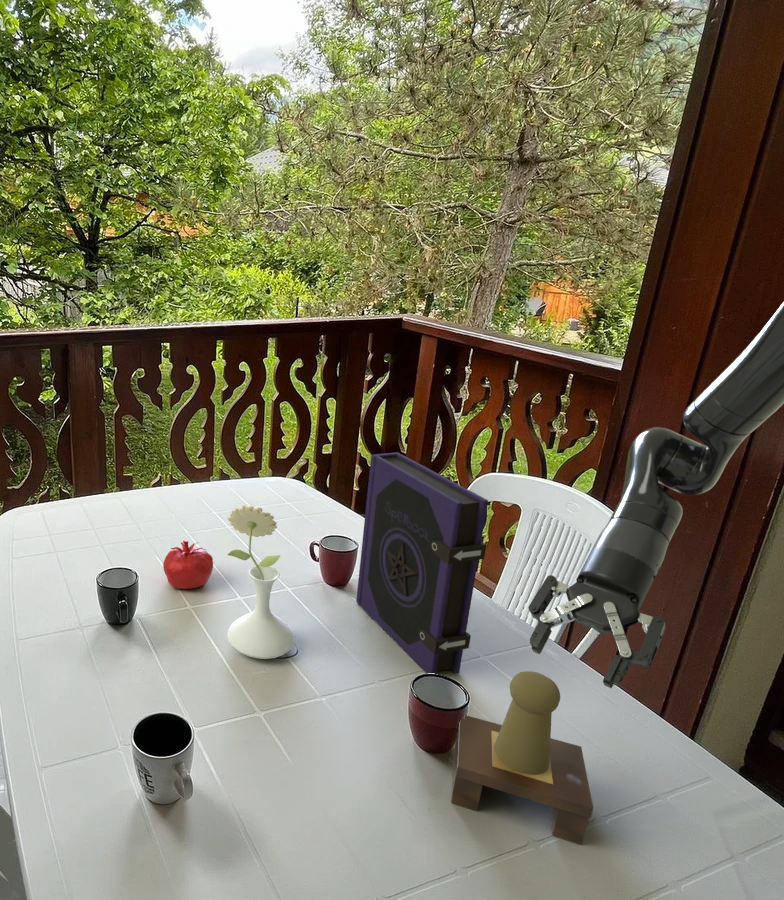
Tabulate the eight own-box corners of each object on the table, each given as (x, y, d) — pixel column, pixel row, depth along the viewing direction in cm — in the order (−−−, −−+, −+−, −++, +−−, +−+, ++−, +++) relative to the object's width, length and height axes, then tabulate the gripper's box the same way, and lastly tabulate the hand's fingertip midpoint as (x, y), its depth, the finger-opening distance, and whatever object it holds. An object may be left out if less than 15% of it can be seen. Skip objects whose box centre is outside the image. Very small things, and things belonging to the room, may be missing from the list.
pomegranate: (213, 595, 124) (214, 552, 121) (161, 594, 124) (161, 551, 121) (212, 570, 133) (213, 530, 130) (164, 569, 134) (164, 529, 131)
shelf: (571, 784, 81) (581, 745, 79) (582, 848, 72) (593, 807, 70) (453, 749, 86) (460, 712, 85) (450, 806, 78) (457, 766, 76)
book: (354, 602, 122) (369, 454, 112) (383, 598, 123) (400, 451, 114) (430, 680, 100) (456, 505, 91) (464, 674, 102) (493, 501, 92)
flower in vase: (305, 641, 110) (315, 507, 102) (273, 674, 101) (281, 532, 93) (241, 615, 117) (246, 489, 110) (206, 645, 109) (208, 510, 101)
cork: (548, 782, 74) (567, 704, 70) (491, 761, 77) (506, 685, 73) (549, 748, 79) (567, 673, 75) (496, 730, 82) (510, 657, 78)
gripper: (561, 529, 87) (507, 631, 84) (687, 570, 76) (630, 688, 73) (570, 553, 92) (519, 650, 89) (690, 594, 81) (636, 706, 78)
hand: (569, 667), depth 81 cm, fingers open, 8 cm apart
